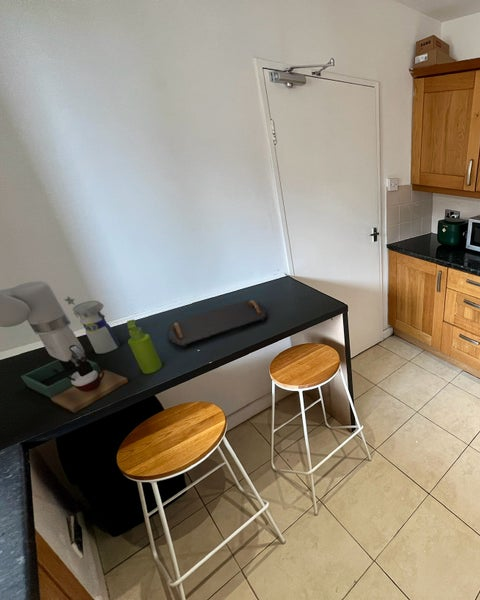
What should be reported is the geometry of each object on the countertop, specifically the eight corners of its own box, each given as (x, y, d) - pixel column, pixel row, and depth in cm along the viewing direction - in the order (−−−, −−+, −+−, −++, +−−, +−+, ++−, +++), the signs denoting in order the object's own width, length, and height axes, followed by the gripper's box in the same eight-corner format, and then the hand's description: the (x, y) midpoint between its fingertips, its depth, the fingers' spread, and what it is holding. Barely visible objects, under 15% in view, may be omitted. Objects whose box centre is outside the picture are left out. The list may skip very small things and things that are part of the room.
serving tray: (256, 302, 159) (253, 291, 156) (273, 320, 143) (271, 308, 141) (165, 330, 136) (160, 317, 134) (174, 354, 121) (169, 341, 118)
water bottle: (118, 350, 123) (89, 293, 112) (90, 356, 120) (58, 298, 109) (124, 339, 130) (97, 285, 118) (98, 345, 127) (68, 289, 115)
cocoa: (107, 377, 107) (91, 348, 102) (108, 386, 103) (92, 357, 98) (69, 390, 101) (50, 361, 96) (69, 401, 97) (49, 370, 92)
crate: (53, 399, 100) (46, 388, 98) (27, 386, 105) (20, 376, 103) (102, 373, 111) (97, 363, 109) (77, 362, 116) (71, 353, 114)
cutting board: (74, 413, 95) (72, 409, 94) (52, 402, 99) (50, 398, 98) (128, 381, 107) (126, 378, 107) (107, 372, 111) (105, 369, 111)
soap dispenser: (143, 377, 109) (119, 329, 100) (142, 367, 114) (119, 320, 105) (163, 370, 112) (142, 323, 103) (161, 361, 117) (140, 315, 108)
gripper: (17, 323, 91) (48, 370, 99) (50, 336, 85) (80, 385, 93) (51, 311, 97) (77, 357, 105) (83, 322, 91) (109, 369, 99)
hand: (79, 370), depth 99 cm, fingers open, 8 cm apart
